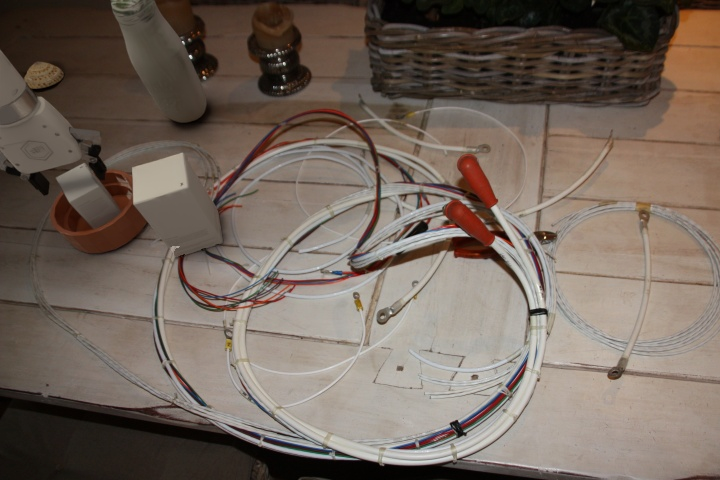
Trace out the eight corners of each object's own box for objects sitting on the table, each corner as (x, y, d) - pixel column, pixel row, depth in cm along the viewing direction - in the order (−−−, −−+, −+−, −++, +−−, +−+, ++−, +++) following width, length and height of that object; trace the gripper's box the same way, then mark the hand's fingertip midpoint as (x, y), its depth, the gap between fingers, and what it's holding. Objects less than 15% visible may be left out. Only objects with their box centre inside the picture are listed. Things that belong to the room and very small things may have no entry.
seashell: (14, 76, 130) (34, 50, 130) (37, 89, 135) (57, 64, 135) (26, 90, 126) (47, 63, 126) (49, 103, 131) (69, 78, 131)
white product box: (218, 208, 102) (184, 150, 90) (224, 243, 97) (189, 187, 85) (171, 222, 101) (130, 165, 89) (174, 259, 96) (131, 204, 84)
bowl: (67, 265, 98) (46, 245, 93) (72, 203, 107) (53, 182, 102) (152, 240, 99) (136, 220, 94) (151, 181, 108) (135, 160, 103)
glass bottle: (162, 132, 116) (87, 8, 93) (177, 101, 122) (109, -24, 99) (205, 131, 115) (140, 5, 92) (218, 99, 121) (160, -27, 98)
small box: (88, 215, 104) (53, 177, 95) (115, 200, 105) (84, 161, 97) (102, 240, 100) (67, 202, 91) (130, 224, 101) (99, 185, 93)
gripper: (-57, 134, 77) (22, 211, 91) (66, 104, 79) (125, 184, 93) (-48, 102, 81) (27, 180, 96) (69, 73, 83) (125, 154, 97)
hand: (75, 182), depth 94 cm, fingers open, 9 cm apart
